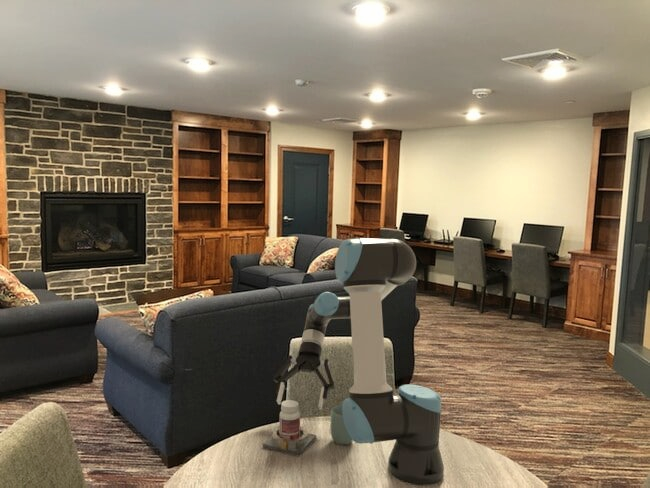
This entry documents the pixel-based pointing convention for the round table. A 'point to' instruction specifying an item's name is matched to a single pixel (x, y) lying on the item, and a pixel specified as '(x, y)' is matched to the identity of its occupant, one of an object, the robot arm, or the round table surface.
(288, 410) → the pill bottle
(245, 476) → the round table surface
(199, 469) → the round table surface
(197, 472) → the round table surface
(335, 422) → the cup
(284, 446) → the hub plate
